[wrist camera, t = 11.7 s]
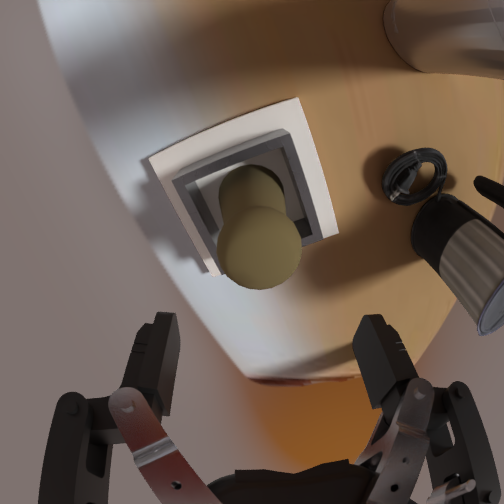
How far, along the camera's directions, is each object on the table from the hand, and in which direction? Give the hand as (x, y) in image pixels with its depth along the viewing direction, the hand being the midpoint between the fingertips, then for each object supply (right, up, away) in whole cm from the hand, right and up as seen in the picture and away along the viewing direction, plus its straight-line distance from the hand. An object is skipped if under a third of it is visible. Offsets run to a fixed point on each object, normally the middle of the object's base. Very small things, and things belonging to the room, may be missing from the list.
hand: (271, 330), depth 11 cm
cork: (-1, +8, +14) cm, 16 cm away
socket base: (-1, +9, +15) cm, 17 cm away
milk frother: (+20, +9, +16) cm, 27 cm away
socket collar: (-1, +8, +14) cm, 16 cm away
